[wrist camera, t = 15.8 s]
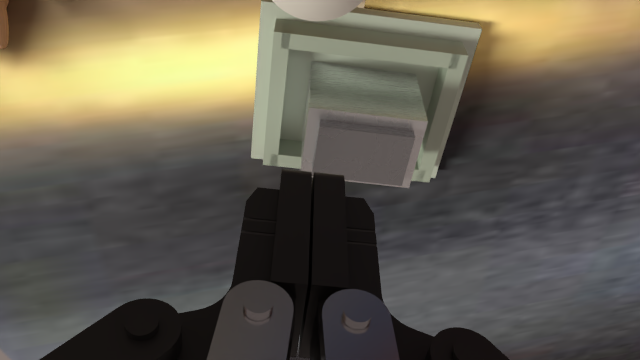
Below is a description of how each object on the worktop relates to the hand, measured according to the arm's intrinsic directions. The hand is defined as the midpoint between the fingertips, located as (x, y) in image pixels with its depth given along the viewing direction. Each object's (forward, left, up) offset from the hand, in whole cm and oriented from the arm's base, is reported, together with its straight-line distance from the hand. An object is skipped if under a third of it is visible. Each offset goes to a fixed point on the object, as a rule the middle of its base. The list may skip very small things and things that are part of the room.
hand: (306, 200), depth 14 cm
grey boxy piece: (-11, -4, -24) cm, 27 cm away
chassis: (-10, -4, -25) cm, 27 cm away
